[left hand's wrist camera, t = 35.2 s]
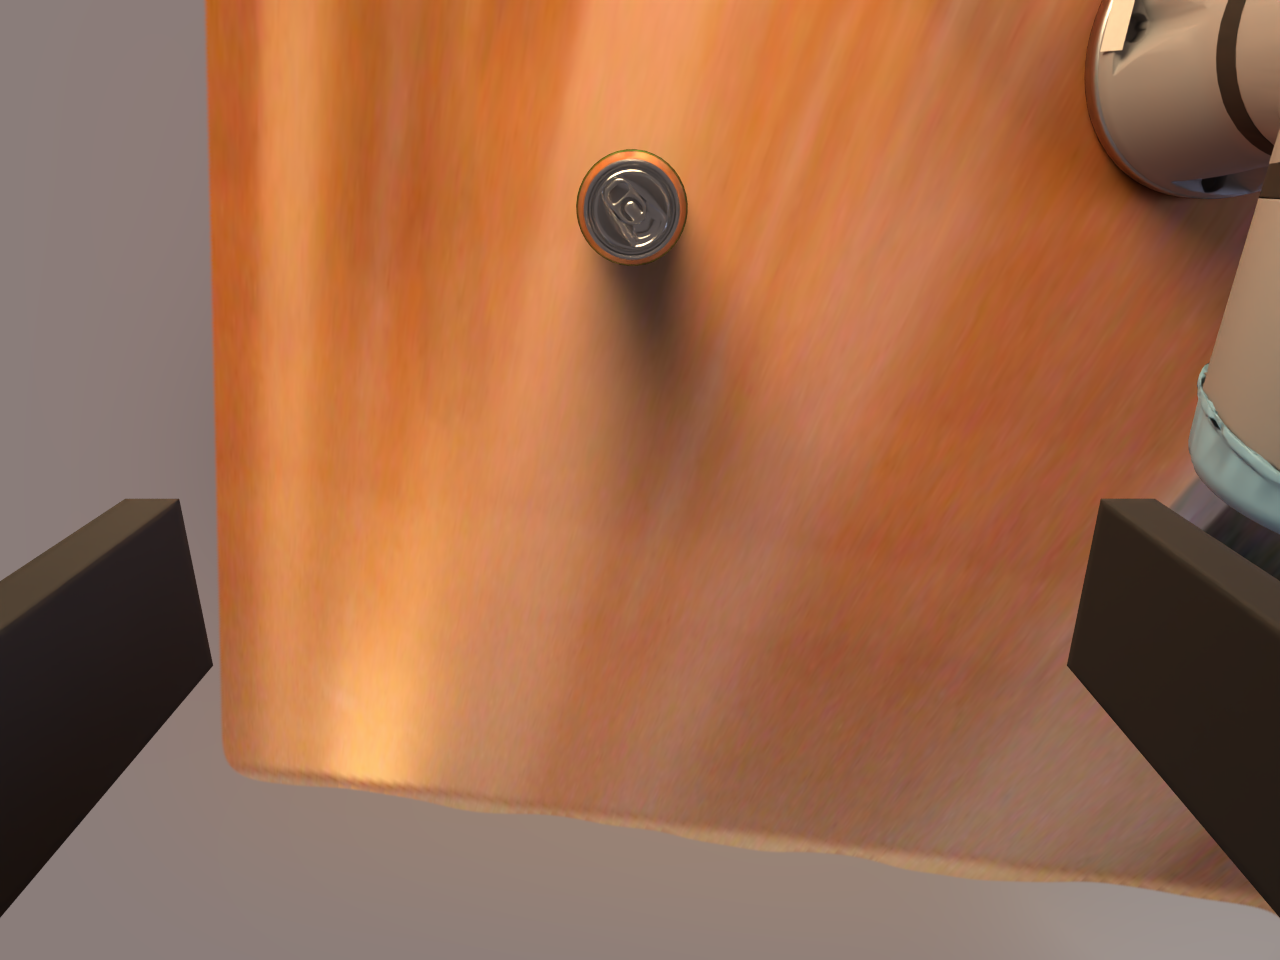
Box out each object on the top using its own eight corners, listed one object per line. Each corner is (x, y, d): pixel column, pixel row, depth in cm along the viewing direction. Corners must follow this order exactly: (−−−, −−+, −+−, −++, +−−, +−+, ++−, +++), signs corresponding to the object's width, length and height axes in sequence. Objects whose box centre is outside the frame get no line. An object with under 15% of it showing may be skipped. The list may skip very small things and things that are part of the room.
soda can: (629, 262, 50) (626, 292, 39) (571, 194, 49) (551, 204, 38) (695, 203, 49) (712, 215, 38) (637, 131, 48) (636, 123, 37)
